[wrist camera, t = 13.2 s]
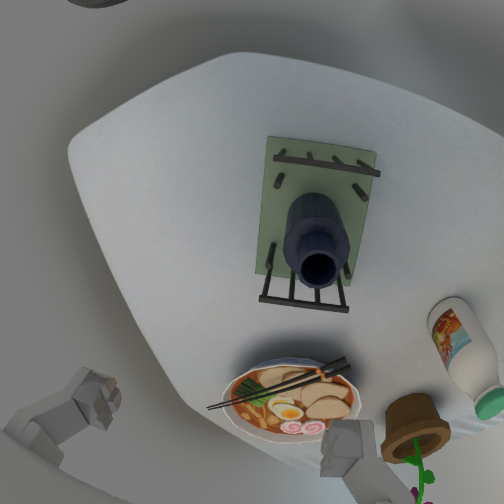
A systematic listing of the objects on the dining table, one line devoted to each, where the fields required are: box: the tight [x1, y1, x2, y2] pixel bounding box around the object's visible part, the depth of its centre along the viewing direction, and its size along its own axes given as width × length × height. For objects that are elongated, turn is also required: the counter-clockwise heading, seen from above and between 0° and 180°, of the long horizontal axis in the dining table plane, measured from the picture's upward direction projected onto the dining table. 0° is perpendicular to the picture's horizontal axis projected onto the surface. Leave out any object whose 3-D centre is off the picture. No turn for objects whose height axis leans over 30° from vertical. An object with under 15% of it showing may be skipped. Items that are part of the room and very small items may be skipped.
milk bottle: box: [428, 297, 504, 420], centre depth 31 cm, size 8×8×20 cm
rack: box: [255, 136, 381, 313], centre depth 33 cm, size 18×13×10 cm
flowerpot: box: [381, 393, 451, 504], centre depth 37 cm, size 14×14×30 cm
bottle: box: [283, 193, 350, 289], centre depth 30 cm, size 6×6×14 cm
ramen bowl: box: [206, 356, 362, 444], centre depth 46 cm, size 25×23×8 cm
